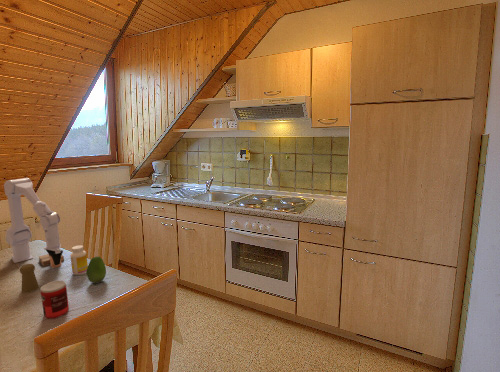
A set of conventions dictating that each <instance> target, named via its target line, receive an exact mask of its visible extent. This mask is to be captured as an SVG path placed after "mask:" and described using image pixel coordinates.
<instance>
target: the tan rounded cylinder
mask: <svg viewBox="0 0 500 372" xmlns="http://www.w3.org/2000/svg"><path fill="white" fill-rule="evenodd" d="M49 257H50V268H52V269H54V268H59V267H61V266H62V261H61V260H60V264H59V265H55V264H54V262H53V259H52V257H51V255H50V256H49Z"/></svg>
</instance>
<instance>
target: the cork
mask: <svg viewBox="0 0 500 372" xmlns="http://www.w3.org/2000/svg"><path fill="white" fill-rule="evenodd" d="M35 270H36V266H35V264H33V263H27V264H23V265H21V266H20V267H19V273H20V274H21V293H24V294H29V293H33V292H35V291H36V290H38V289H40V286H39V283H38V280H37V276H36V273H35Z"/></svg>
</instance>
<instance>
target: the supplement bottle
mask: <svg viewBox="0 0 500 372" xmlns="http://www.w3.org/2000/svg"><path fill="white" fill-rule="evenodd" d="M70 263H71V271H72V275H75V276H80V275H84V274H87V273H86V271H87V267H88V265H89V262H88V256H87V251H86V250H84V245H81V244H80V245H75V246H73V247H71V253H70Z"/></svg>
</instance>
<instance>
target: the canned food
mask: <svg viewBox="0 0 500 372" xmlns="http://www.w3.org/2000/svg"><path fill="white" fill-rule="evenodd" d="M39 289H40V290H39V291H40V297H41V304H42V310H43V315H44V317H45V318H46V319H58V318H60V317H61V316H64V315H66V313H68V312H69V308H70V306H69V300H68V291H67V283H66V281H64V280H53V281H50V282H47V283H44V285H43V284H42V286H41V287H39Z"/></svg>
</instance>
